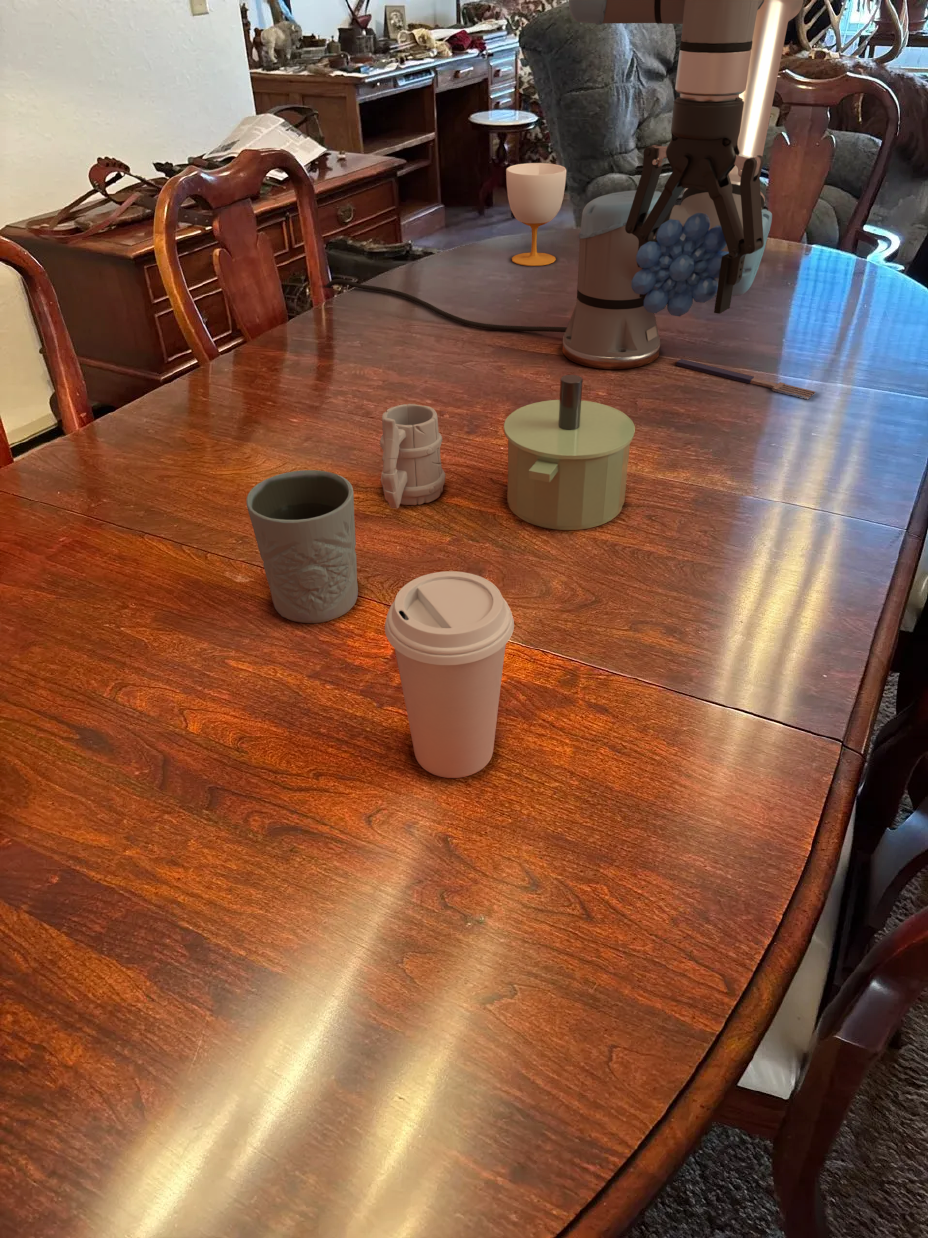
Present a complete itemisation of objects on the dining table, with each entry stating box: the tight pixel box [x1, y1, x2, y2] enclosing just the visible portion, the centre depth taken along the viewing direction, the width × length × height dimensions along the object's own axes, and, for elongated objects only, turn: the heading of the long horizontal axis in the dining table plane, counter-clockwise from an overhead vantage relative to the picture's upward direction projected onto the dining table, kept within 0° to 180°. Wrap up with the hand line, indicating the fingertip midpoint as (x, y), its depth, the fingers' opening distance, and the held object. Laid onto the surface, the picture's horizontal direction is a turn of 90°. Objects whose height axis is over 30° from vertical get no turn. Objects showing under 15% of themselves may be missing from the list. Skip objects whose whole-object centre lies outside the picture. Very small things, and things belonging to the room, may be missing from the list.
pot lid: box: [503, 374, 636, 460], centre depth 102 cm, size 15×15×7 cm
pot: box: [506, 439, 631, 531], centre depth 106 cm, size 14×19×9 cm
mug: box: [379, 403, 447, 510], centre depth 106 cm, size 8×12×12 cm, turn 162°
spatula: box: [675, 358, 816, 400], centre depth 136 cm, size 21×3×1 cm, turn 51°
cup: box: [505, 162, 567, 267], centre depth 184 cm, size 12×12×17 cm
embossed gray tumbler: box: [245, 469, 359, 624], centre depth 90 cm, size 10×10×12 cm
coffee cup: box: [384, 570, 515, 779], centre depth 71 cm, size 10×10×15 cm
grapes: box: [631, 213, 729, 317], centre depth 111 cm, size 12×7×12 cm, turn 81°
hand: (683, 302), depth 114 cm, fingers closed on grapes, 9 cm apart
